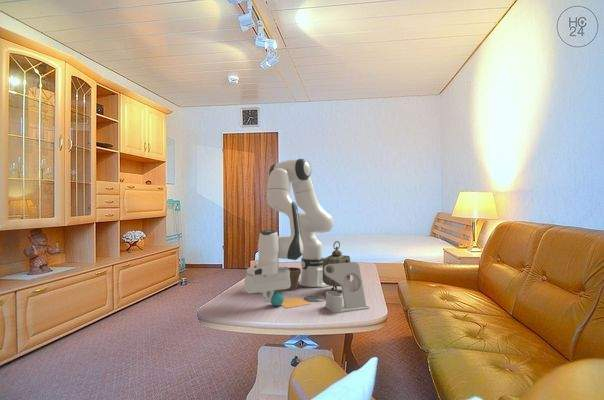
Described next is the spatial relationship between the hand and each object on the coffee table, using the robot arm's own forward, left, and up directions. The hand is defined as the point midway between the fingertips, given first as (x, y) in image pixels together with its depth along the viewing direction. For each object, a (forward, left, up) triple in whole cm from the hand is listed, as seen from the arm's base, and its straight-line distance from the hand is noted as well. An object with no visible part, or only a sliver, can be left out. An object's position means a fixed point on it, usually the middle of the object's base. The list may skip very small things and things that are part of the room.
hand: (267, 301), depth 140 cm
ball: (-4, 0, +1) cm, 4 cm away
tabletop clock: (-40, -5, -3) cm, 40 cm away
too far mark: (-24, 0, -2) cm, 24 cm away
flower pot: (-23, -22, -3) cm, 32 cm away
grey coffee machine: (-28, +17, -3) cm, 33 cm away
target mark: (-12, 0, -2) cm, 12 cm away
